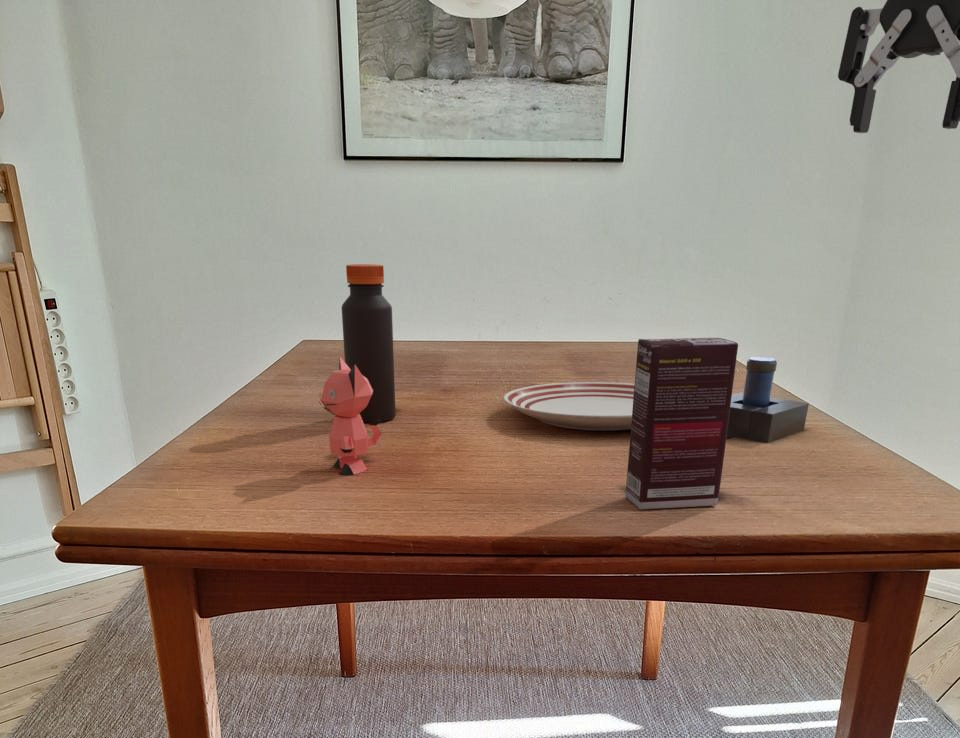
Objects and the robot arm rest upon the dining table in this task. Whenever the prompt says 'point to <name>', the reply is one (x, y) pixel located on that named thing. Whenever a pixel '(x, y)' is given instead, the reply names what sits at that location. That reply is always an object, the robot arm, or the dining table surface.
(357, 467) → the cat figurine
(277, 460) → the dining table surface
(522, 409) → the dinner plate
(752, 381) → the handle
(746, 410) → the holder
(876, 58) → the robot arm
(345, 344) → the bottle
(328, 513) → the dining table surface
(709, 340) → the supplement box
